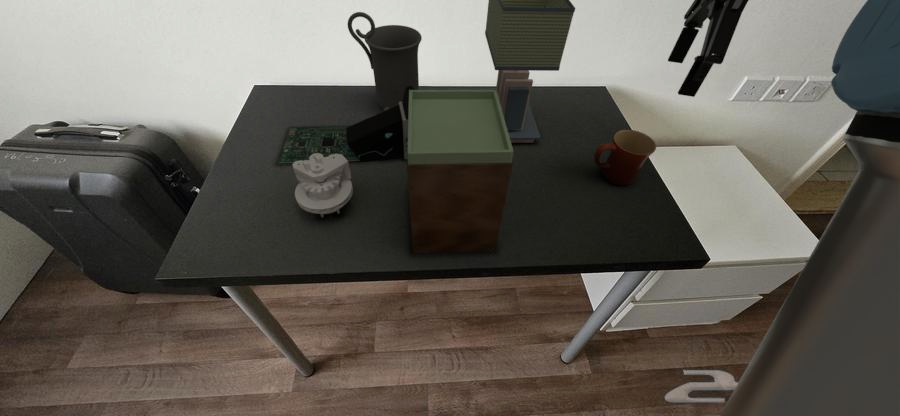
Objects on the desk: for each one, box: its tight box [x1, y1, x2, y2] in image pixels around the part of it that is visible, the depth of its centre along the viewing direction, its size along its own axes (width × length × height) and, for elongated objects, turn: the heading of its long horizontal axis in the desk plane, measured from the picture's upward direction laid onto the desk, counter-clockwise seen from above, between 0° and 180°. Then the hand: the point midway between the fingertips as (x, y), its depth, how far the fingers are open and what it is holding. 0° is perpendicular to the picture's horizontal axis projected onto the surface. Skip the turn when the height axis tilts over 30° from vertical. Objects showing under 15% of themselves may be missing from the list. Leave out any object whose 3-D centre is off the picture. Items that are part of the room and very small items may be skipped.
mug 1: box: [347, 11, 423, 112], centre depth 93 cm, size 19×15×25 cm
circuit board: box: [278, 125, 361, 164], centre depth 90 cm, size 14×20×1 cm
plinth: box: [406, 103, 514, 255], centre depth 67 cm, size 16×18×22 cm
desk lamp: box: [484, 0, 576, 144], centre depth 86 cm, size 18×14×33 cm
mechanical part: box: [292, 153, 354, 218], centre depth 72 cm, size 11×12×12 cm
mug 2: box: [593, 129, 657, 186], centre depth 82 cm, size 12×9×10 cm
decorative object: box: [346, 86, 415, 162], centre depth 83 cm, size 8×18×15 cm, turn 102°
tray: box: [408, 89, 515, 165], centre depth 59 cm, size 15×17×2 cm
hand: (679, 77), depth 71 cm, fingers open, 13 cm apart
